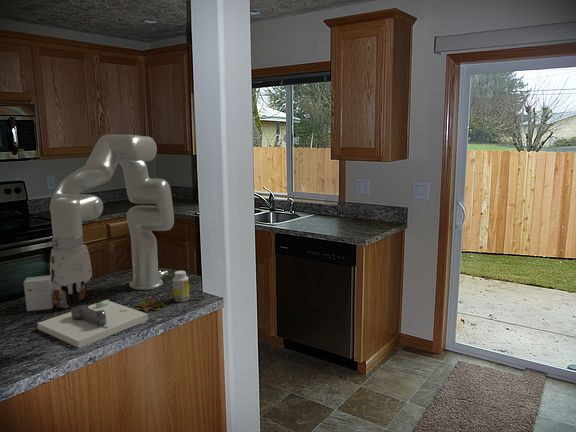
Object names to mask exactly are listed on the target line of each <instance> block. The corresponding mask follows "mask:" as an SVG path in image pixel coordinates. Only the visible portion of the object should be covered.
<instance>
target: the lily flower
mask: <svg viewBox="0 0 576 432" xmlns="http://www.w3.org/2000/svg"><path fill="white" fill-rule="evenodd" d="M149 295H150V296H149ZM149 295H148V294H147V295H146V294H145V298H143V300H140V302H139V303H136V304H134V305H133V307H135V308H134V310H137V311H141V310H144V313H147V312H148V311H150V310H151V311H152V310H153V311H161V307H167V305H166V304H164V303H166V302H167V301H164V300H163V301H162V300H157V299H156V298H155V297H156V296H157V295H156V293H154V294H153V295H151V294H149ZM146 299H147V300H146ZM136 306H137V307H136ZM148 306H149V307H148Z"/></svg>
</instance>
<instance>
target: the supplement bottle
mask: <svg viewBox="0 0 576 432" xmlns="http://www.w3.org/2000/svg"><path fill="white" fill-rule="evenodd" d="M172 291H173V295H172V296H173V300H174V301H175V302H186V301H188V300H189V298H190V285H189V277H188V275H187V273H186V271H185V270H177V271H175V272H174V276H173V277H172Z"/></svg>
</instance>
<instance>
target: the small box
mask: <svg viewBox="0 0 576 432" xmlns="http://www.w3.org/2000/svg"><path fill="white" fill-rule="evenodd" d="M52 284H53V283H52V282H51V277H50V274H49V275H48V274H47V275H40V276H39V275H38V276H29V277H26V278H25V280H24V281H23V289H24V297H25V299H24V300H25V306H26V307H25V308H26V311H27V312H34V311H42V310H52V309H53V308H54V305H55V304H54V299H53V293H54V289H52Z"/></svg>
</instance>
